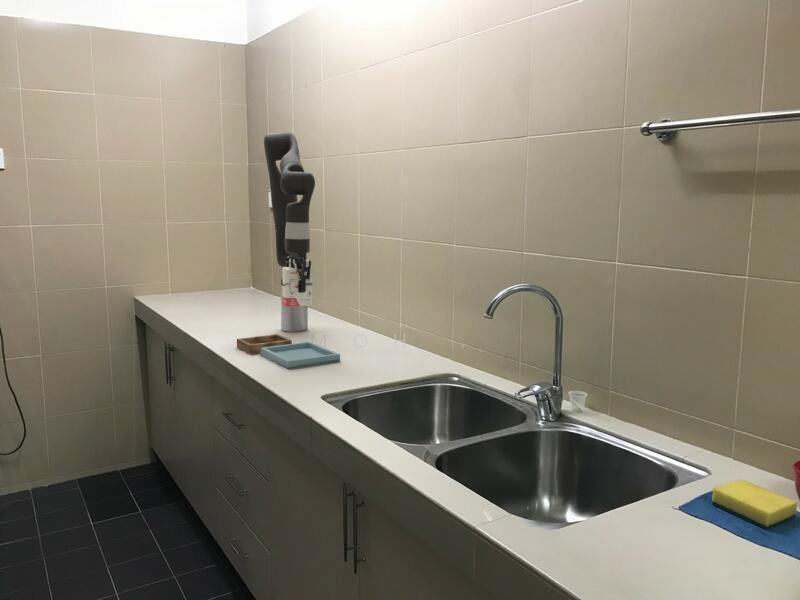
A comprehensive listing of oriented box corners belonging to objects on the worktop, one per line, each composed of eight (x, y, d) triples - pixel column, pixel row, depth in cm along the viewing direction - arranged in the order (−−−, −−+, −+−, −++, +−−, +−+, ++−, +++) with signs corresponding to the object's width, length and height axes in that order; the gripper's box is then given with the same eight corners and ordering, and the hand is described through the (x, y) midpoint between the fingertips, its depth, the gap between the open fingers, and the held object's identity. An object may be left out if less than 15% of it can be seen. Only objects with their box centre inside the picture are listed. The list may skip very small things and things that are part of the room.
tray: (309, 348, 224) (309, 341, 224) (340, 361, 208) (340, 354, 208) (260, 355, 214) (260, 347, 213) (288, 369, 198) (288, 361, 197)
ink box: (286, 306, 204) (285, 268, 202) (281, 304, 208) (281, 267, 206) (312, 305, 208) (313, 268, 206) (308, 303, 212) (308, 266, 210)
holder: (277, 342, 232) (277, 334, 231) (291, 348, 223) (291, 340, 222) (236, 347, 223) (236, 338, 222) (250, 354, 214) (249, 345, 214)
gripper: (319, 238, 201) (319, 293, 204) (298, 235, 213) (298, 287, 215) (297, 238, 197) (297, 295, 199) (276, 235, 208) (276, 289, 211)
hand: (297, 290), depth 207 cm, fingers closed on ink box, 5 cm apart
